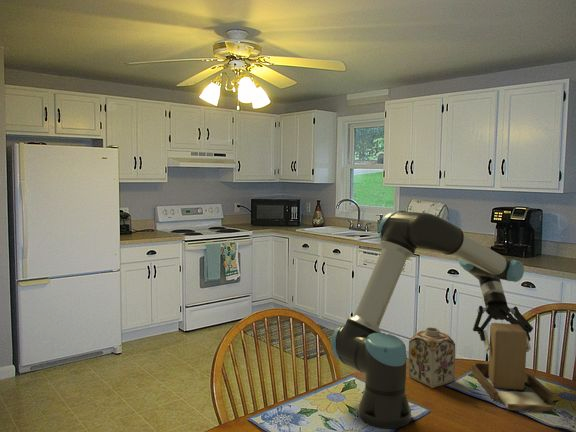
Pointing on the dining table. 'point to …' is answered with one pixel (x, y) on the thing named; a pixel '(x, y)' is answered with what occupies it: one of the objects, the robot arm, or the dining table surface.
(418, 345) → the decorative jar
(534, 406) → the bay
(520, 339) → the wooden block
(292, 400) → the dining table surface
